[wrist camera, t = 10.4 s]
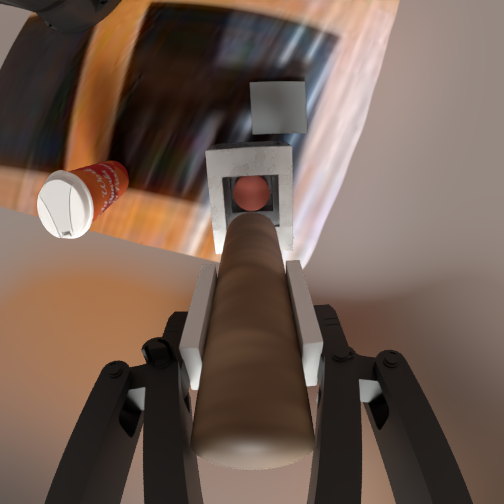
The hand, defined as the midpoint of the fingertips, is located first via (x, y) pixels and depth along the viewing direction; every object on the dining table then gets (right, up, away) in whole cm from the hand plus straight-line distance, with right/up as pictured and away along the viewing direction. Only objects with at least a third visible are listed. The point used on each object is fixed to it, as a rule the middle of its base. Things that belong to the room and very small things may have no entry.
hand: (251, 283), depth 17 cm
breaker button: (0, +10, +21) cm, 23 cm away
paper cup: (-20, +13, +21) cm, 32 cm away
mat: (+3, +20, +17) cm, 27 cm away
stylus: (0, +3, +6) cm, 7 cm away
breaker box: (0, +11, +22) cm, 24 cm away
